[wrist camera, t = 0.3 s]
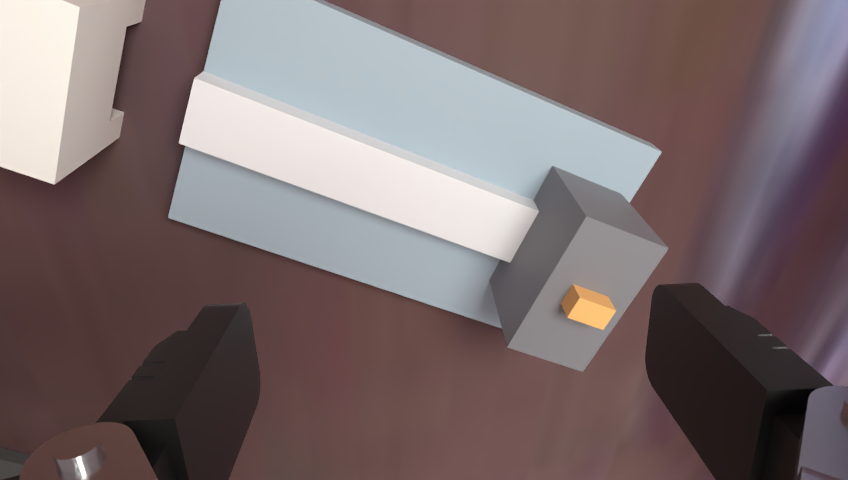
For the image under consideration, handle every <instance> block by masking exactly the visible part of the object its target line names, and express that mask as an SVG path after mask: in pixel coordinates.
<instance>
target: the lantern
mask: <svg viewBox="0 0 848 480" xmlns="http://www.w3.org/2000/svg"><path fill="white" fill-rule="evenodd" d="M29 456H30V455H29V454H25V453H21V452H17V451H13V450H9V449H5V448H1V447H0V480H2V479H6V478H10V477H14V476H17V475H20V471H21V468H22V466H23V465H24V463H25V461H26V460H27V459H28V458H29Z"/></svg>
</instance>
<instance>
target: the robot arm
mask: <svg viewBox="0 0 848 480" xmlns="http://www.w3.org/2000/svg"><path fill="white" fill-rule="evenodd" d="M645 362H646V370H647V374H648V378H649V381H650V383H651V385H652V387H653V388H654V390H655V391H656V393H657V394H658V396H659V397H660V399H661V400H662V401H663V403H664V404H665V406H666V407H667V409H668V410H669V412H670V413H671V415H672V416H673V418H674V419H675V421H676V422H677V423H678V425H679V426H680V428H681V429H682V431H683V432H684V434H685V435H686V437H687V438H688V440H689V441H690V443H691V444H692V445H693V447H694V448H695V450H696V451H697V453H698V454H699V456H700V457H701V459H702V460H703V462H704V463H705V465H706V466H707V467H708V469H709V470H710V472H711V473H712V475H713V476H714V478H715V479H716V480H848V386H833V385H832V384H831V383H830V382H829V381H828V380H826V379H825V378H824V377H823V376H822V375H820V374H819V373H818V372H817V371H816V370H814V369H813V368H812V367H811V366H810V365H809V364H807V363H806V362H805V361H804V360H803V359H801V358H800V357H799V356H798V355H797V354H796V353H794V352H793V351H792V350H791V349H789V350H787V346H786V345H785V344H784V343H783V342H781V341H780V340H779V339H778V338H777V337H772V333H771V332H770V331H768V330H767V329H766V328H765V327H764V326H762V325H761V324H760V323H759V322H758V321H757V320H755V319H754V318H752V317H750V316H748V315H746V314H744V313H742V312H740V311H737V310H735V309H733V308H731V307H729V306H725V305H723V304H722V303H721V302H720V301H719V300H718V299H717V298H715V297H714V296H713V295H712V294H711V293H710V292H709V291H708V290H706V289H705V288H704V287H703V286H702V285H700V284H698V283H686V284H665V285H658V286H657V287H656V288H655V289H654V292H653V295H652V302H651V310H650V319H649V328H648V336H647V345H646V354H645ZM259 395H260V371H259V365H258V358H257V352H256V346H255V340H254V334H253V327H252V321H251V315H250V311H249V308H248V306H247V305H246V304H245V303H238V304H217V305H206V306H204V307H203V308H202V310H201V311H200V313H199V314H198V315H197V317H196V318H195V320H194V321H193V323H192V324H191V325H190V327H189V328H188V330H187V331H177V332H175V333H174V334H172V335H171V336H170V337H168V338H167V339H165V340H164V341H162V342H161V343H159V344H158V345H156V346H155V347H154V349H153V350H152V351H151V352H150V354H149V355H148V356H147V358H146V359H145V360H144V361H143V366H140V367H139V368H138V369H137V371H136V372H135V373H134V374H133V376H132V380H129V381H128V382H127V383H126V385H125V386H124V387H123V389H122V390H121V391H120V393H119V394H118V395H117V396H116V398H115V399H114V400H113V402H112V403H111V404H110V405H109V407H108V408H107V409H106V411H105V412H104V413H103V415H102V416H101V417H100V418H99V420H98V421H97V422H96V423H93V424H88V425H84V426H80V427H77V428H74V429H71V430H69V431H67V432H64V433H62V434H60V435H58V436H56V437H54V438H52V439H51V440H49V441H48V442H46V443H45V444H43V445H42V446H41V447H39V448H38V449H37V450H36V451H35V452H33V453H32V454H31V455H30V456H29V458H28V459H27V460H26V461H25V463H24V465H23V466H22V468H21V471H20V475H17V476H14V477H10V478H6V479H2V480H228V479H229V477H230V474H231V472H232V469H233V466H234V464H235V461H236V459H237V456H238V453H239V451H240V448H241V446H242V443H243V441H244V438H245V435H246V433H247V430H248V428H249V425H250V422H251V420H252V417H253V415H254V412H255V409H256V407H257V404H258V400H259Z"/></svg>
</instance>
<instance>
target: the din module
mask: <svg viewBox="0 0 848 480" xmlns="http://www.w3.org/2000/svg"><path fill="white" fill-rule="evenodd" d="M145 1H146V0H0V167H3V168H6V169H9V170H12V171H15V172H18V173H21V174H24V175H27V176H30V177H33V178H36V179H39V180H42V181H45V182H48V183H51V184H54V185H55V184H56V183H57V182H59V181H60V180H61V179H63V178H64V177H66V176H67V175H68V174H70V173H71V172H73V171H74V170H75V169H77V168H78V167H79V166H81V165H82V164H84V163H85V162H86V161H88V160H89V159H90V158H92V157H93V156H95V155H96V154H97V153H99V152H100V151H101V150H103V149H104V148H106V147H107V146H108V145H110V144H111V143H112V142H114V141H115V140H117V139H118V138H119V137H120V133H121V128H122V122H123V117H124V112H122V111H119V110H116V109H114V108H112V106H113V100H114V95H115V89H116V83H117V78H118V72H119V67H120V61H121V56H122V50H123V44H124V39H125V33H126V28H127V26H130V25H133V24H136V23H139V22H142V17H143V11H144V6H145Z"/></svg>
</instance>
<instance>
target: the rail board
mask: <svg viewBox="0 0 848 480" xmlns="http://www.w3.org/2000/svg"><path fill="white" fill-rule="evenodd" d="M179 144H182V145H185V150H184V154H183V158H182V162H181V166H180V170H179V174H178V178H177V182H176V186H175V190H174V195H173V199H172V203H171V207H170V211H169V215H168V218H170V219H173V220H176V221H179V222H182V223H185V224H188V225H191V226H194V227H197V228H200V229H203V230H206V231H209V232H212V233H215V234H218V235H221V236H224V237H227V238H230V239H233V240H236V241H239V242H242V243H245V244H248V245H251V246H254V247H257V248H260V249H263V250H266V251H269V252H272V253H275V254H278V255H281V256H284V257H287V258H291V259H294V260H297V261H300V262H303V263H306V264H309V265H312V266H315V267H318V268H321V269H324V270H327V271H330V272H333V273H336V274H339V275H342V276H345V277H348V278H351V279H354V280H357V281H360V282H363V283H366V284H369V285H372V286H375V287H378V288H381V289H384V290H387V291H390V292H393V293H396V294H399V295H402V296H405V297H408V298H411V299H414V300H417V301H420V302H423V303H426V304H429V305H432V306H435V307H438V308H441V309H444V310H447V311H450V312H453V313H456V314H459V315H462V316H465V317H469V318H472V319H475V320H478V321H481V322H484V323H487V324H490V325H493V326H496V327H499V328H502V330H503V334H504V338H505V342H506V345H507V347H508V348H511V349H514V350H517V351H520V352H523V353H526V354H529V355H532V356H536V357H539V358H542V359H545V360H548V361H551V362H554V363H557V364H560V365H563V366H566V367H569V368H573V369H576V370H579V371H582V372H583V371H584V369H585V368H586V366H587V365H588V363H589V362H590V361H591V359H592V358H593V356H594V355H595V353H596V352H597V350H598V349H599V348H600V346H601V345H602V343H603V342H604V340H605V339H606V338H607V336H608V335H609V333H610V332H611V330H612V329H613V328H614V326H615V325H616V323H617V322H618V320H619V319H620V318H621V316H622V315H623V313H624V312H625V310H626V309H627V308H628V306H629V305H630V303H631V302H632V300H633V299H634V297H635V296H636V295H637V293H638V292H639V290H640V289H641V287H642V286H643V285H644V283H645V282H646V280H647V279H648V277H649V276H650V275H651V273H652V272H653V270H654V269H655V267H656V266H657V265H658V263H659V262H660V260H661V259H662V257H663V256H664V255H665V253H666V252H667V250H668V249H669V248H668V247H667V246H666V245H665V244H664V243H663V241H662V240H661V239H660V238H659V237H658V236H657V234H656V233H655V232H654V231H653V230H652V229H651V228H650V226H649V225H648V224H647V223H646V222H645V221H644V219H643V218H642V217H641V216H640V215H639V214H638V213H637V211H636V210H635V209H634V208H633V207H632V206H631V204H630V201H631V200H632V198H633V196H634V195H635V193H636V192H637V190H638V189H639V187H640V185H641V184H642V182H643V181H644V179H645V178H646V176H647V174H648V173H649V171H650V170H651V168H652V167H653V165H654V163H655V162H656V160H657V159H658V157H659V156H660V154H661V151H660V150H659V149H658V148H656V147H655V146H654V145H653V144H652V143H649V142H647V141H645V140H643V139H640V138H638V137H636V136H633V135H631V134H629V133H627V132H624V131H622V130H620V129H617V128H615V127H613V126H611V125H608V124H606V123H604V122H601V121H599V120H597V119H595V118H592V117H590V116H588V115H585V114H583V113H581V112H579V111H576V110H574V109H572V108H569V107H567V106H565V105H562V104H560V103H558V102H556V101H553V100H551V99H549V98H546V97H544V96H542V95H540V94H537V93H535V92H533V91H530V90H528V89H526V88H524V87H521V86H519V85H517V84H514V83H512V82H510V81H508V80H505V79H503V78H501V77H498V76H496V75H494V74H492V73H489V72H487V71H485V70H482V69H480V68H478V67H476V66H473V65H471V64H469V63H466V62H464V61H462V60H460V59H457V58H455V57H453V56H450V55H448V54H446V53H444V52H441V51H439V50H437V49H434V48H432V47H430V46H427V45H425V44H423V43H421V42H418V41H416V40H414V39H411V38H409V37H407V36H405V35H402V34H400V33H398V32H395V31H393V30H391V29H389V28H386V27H384V26H382V25H379V24H377V23H375V22H373V21H370V20H368V19H366V18H363V17H361V16H359V15H357V14H354V13H352V12H350V11H347V10H345V9H343V8H341V7H338V6H336V5H334V4H331V3H329V2H327V1H325V0H221V2H220V6H219V11H218V15H217V19H216V23H215V27H214V31H213V35H212V39H211V43H210V47H209V51H208V56H207V60H206V64H205V68H204V71H203V72H202V73H200V74H199V75H198V76H196V77H195V78H194V81H193V85H192V89H191V94H190V98H189V102H188V106H187V110H186V114H185V119H184V123H183V127H182V131H181V135H180V140H179Z"/></svg>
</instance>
